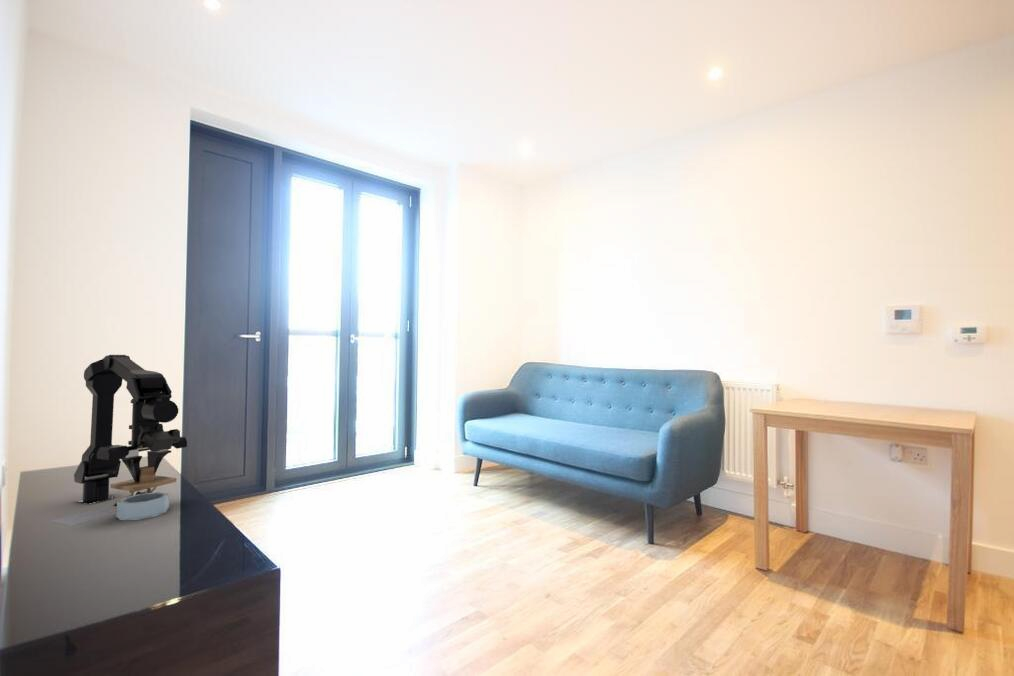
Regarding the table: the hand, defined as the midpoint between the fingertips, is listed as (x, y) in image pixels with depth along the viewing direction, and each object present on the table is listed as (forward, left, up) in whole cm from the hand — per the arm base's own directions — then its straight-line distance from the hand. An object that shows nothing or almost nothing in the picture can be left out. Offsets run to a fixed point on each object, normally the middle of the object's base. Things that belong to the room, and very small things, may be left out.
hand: (144, 480), depth 120 cm
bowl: (0, 0, -9) cm, 9 cm away
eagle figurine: (-14, +5, -9) cm, 18 cm away
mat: (-12, -7, -9) cm, 17 cm away
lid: (0, 0, -1) cm, 1 cm away
